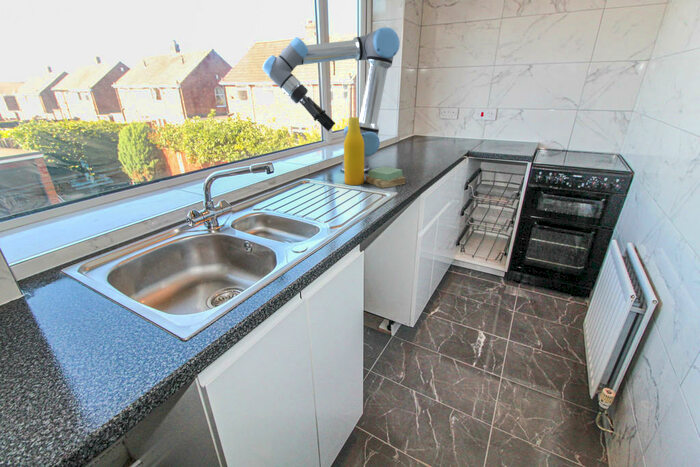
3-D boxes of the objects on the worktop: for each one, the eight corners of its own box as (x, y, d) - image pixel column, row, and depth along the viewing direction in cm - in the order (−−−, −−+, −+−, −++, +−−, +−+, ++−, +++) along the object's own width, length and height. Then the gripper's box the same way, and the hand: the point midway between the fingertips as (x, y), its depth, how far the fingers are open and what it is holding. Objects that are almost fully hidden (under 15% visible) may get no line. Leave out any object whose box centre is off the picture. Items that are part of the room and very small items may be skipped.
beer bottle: (366, 184, 151) (367, 117, 139) (346, 186, 149) (345, 118, 137) (361, 179, 159) (361, 116, 147) (342, 181, 157) (341, 117, 145)
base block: (365, 181, 155) (365, 175, 154) (387, 178, 161) (388, 172, 160) (382, 188, 145) (382, 181, 144) (405, 183, 151) (405, 177, 150)
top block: (368, 176, 152) (368, 170, 151) (383, 172, 159) (383, 166, 158) (387, 180, 145) (387, 174, 144) (402, 176, 152) (402, 169, 151)
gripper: (295, 96, 151) (329, 130, 157) (283, 98, 128) (322, 137, 134) (306, 83, 149) (339, 118, 154) (295, 82, 126) (335, 123, 131)
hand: (332, 127), depth 144 cm, fingers open, 13 cm apart
